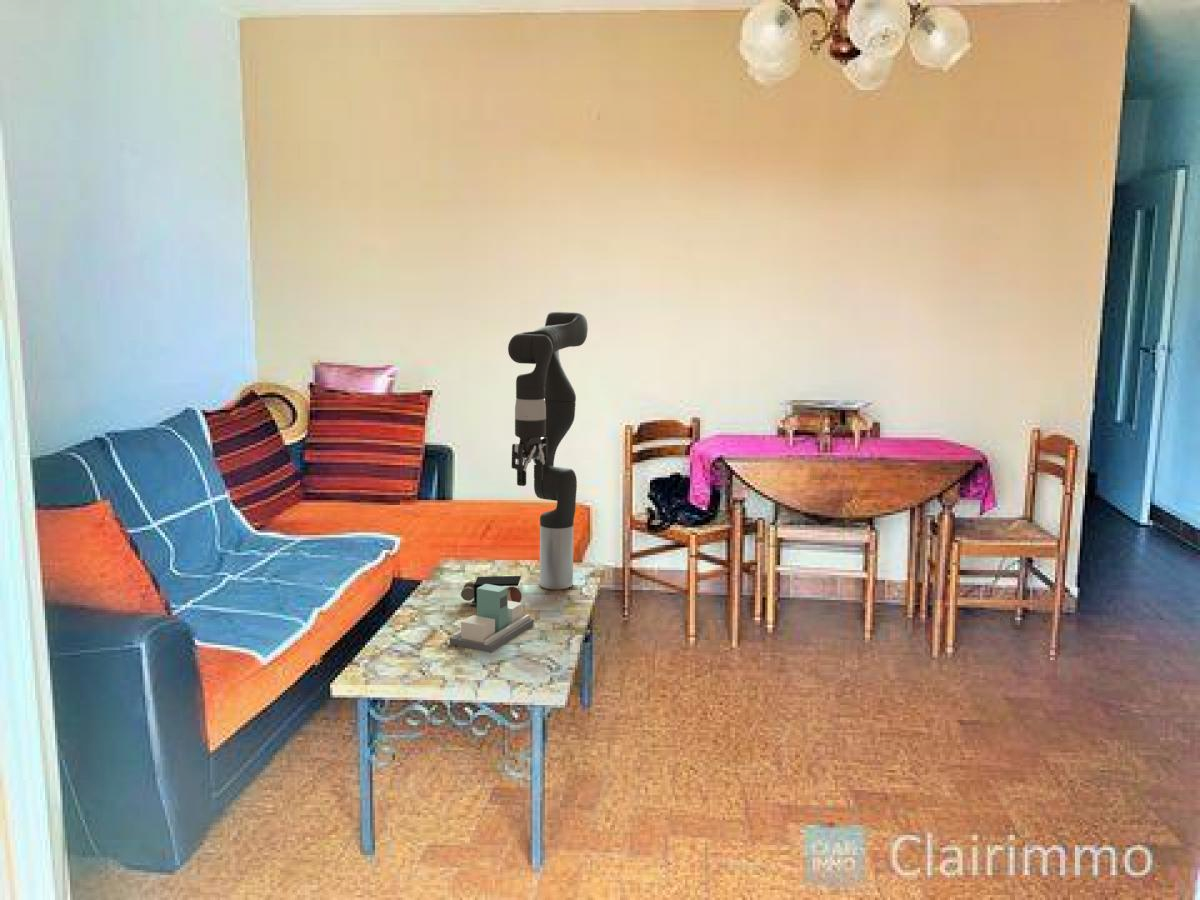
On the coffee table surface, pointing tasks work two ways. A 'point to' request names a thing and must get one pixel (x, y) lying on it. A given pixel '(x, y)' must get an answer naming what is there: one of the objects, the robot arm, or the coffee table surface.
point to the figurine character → (471, 587)
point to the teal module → (493, 604)
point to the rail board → (494, 636)
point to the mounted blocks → (488, 623)
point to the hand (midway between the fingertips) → (530, 482)
